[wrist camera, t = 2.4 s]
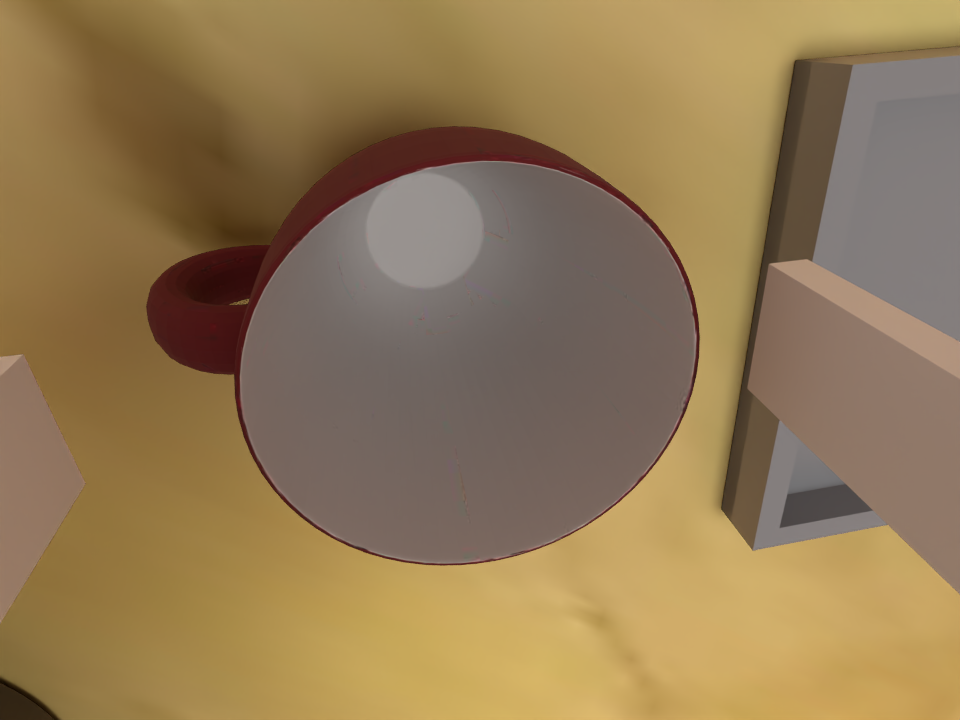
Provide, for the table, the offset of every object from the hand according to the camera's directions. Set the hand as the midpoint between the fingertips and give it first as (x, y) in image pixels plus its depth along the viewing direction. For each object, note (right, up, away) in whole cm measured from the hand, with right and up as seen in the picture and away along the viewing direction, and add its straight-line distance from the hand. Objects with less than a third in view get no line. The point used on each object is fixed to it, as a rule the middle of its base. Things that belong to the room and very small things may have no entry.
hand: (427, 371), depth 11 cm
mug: (-2, +4, +8) cm, 9 cm away
